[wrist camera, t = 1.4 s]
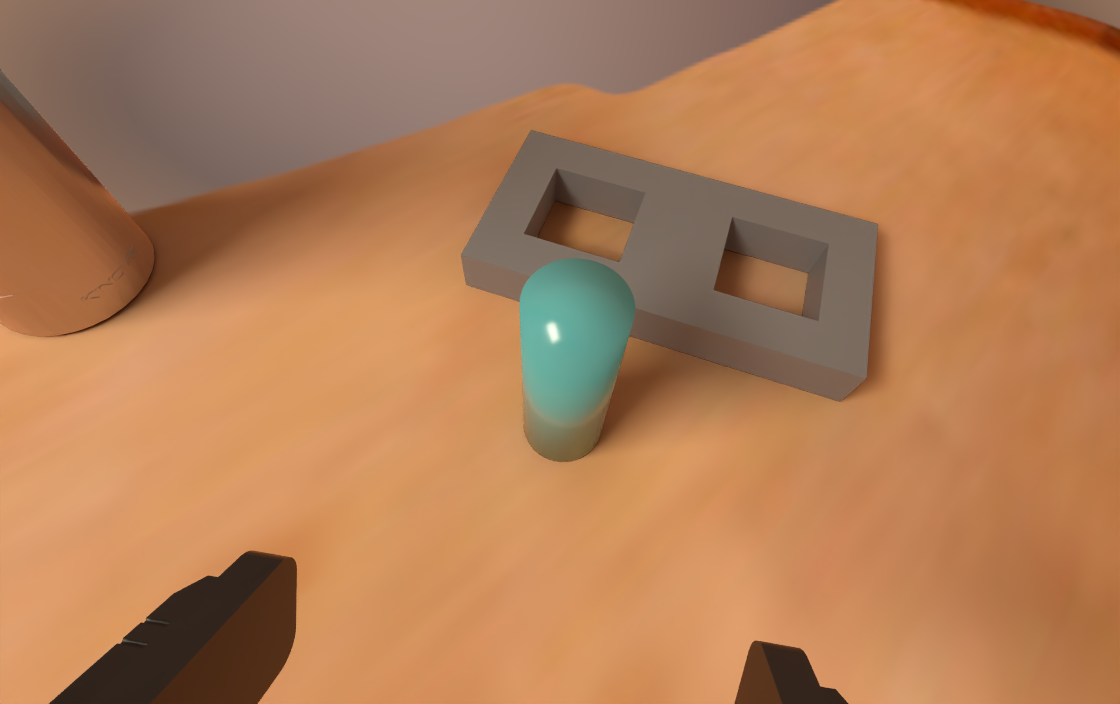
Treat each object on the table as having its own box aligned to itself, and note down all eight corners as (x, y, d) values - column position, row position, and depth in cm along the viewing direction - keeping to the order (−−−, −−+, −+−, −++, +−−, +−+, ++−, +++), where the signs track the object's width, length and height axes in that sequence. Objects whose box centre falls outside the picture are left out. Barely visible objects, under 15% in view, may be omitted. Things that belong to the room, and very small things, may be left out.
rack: (466, 284, 36) (460, 254, 33) (531, 163, 42) (531, 130, 39) (840, 401, 33) (866, 378, 30) (854, 253, 39) (878, 223, 36)
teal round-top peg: (512, 446, 31) (501, 332, 20) (539, 379, 33) (542, 245, 23) (587, 472, 30) (617, 369, 20) (610, 403, 32) (648, 276, 22)
